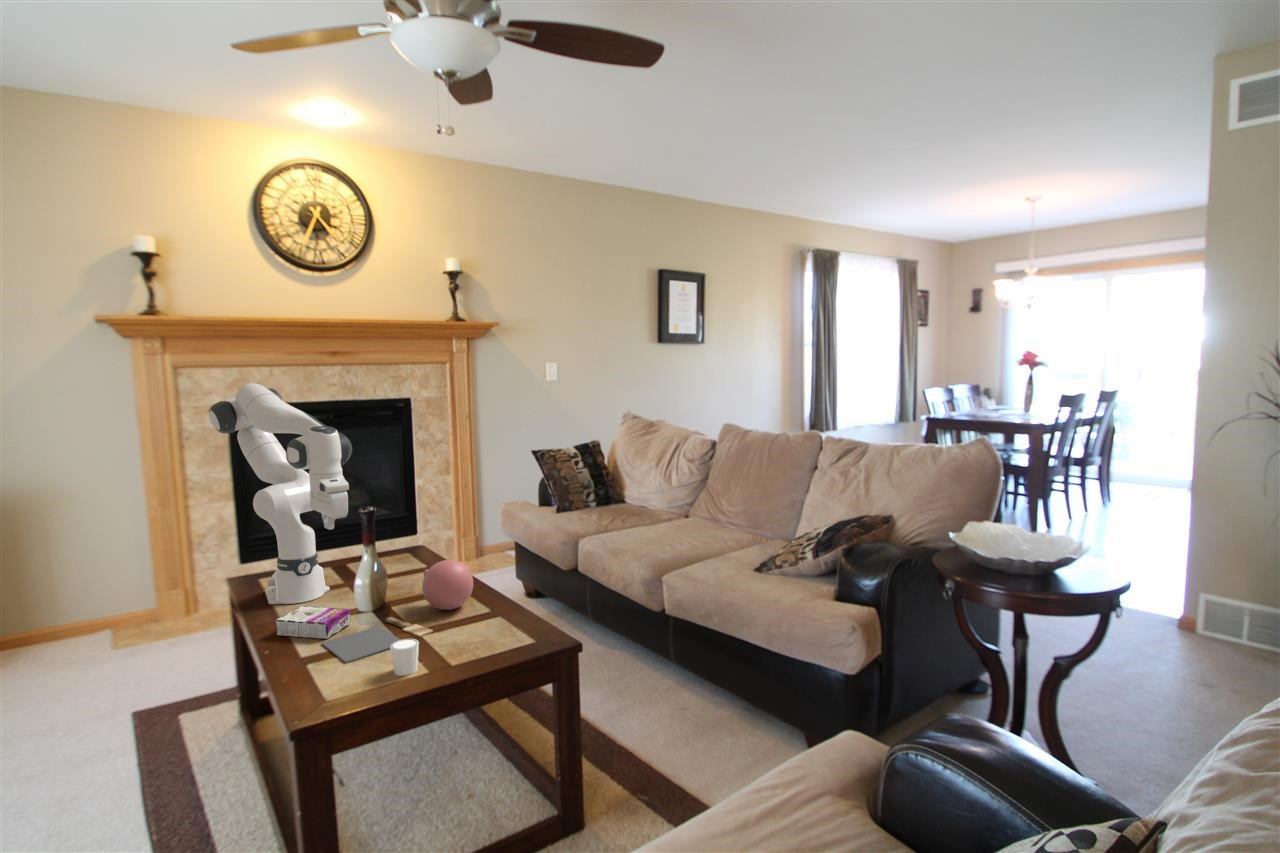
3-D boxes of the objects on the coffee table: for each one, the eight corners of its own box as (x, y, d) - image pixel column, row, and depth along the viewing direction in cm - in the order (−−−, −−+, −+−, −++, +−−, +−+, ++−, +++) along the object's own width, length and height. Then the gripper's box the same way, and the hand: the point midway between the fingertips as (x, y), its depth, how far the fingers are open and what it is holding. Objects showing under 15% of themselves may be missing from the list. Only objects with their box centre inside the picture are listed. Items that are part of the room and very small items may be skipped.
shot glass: (395, 665, 169) (394, 638, 169) (423, 663, 170) (422, 637, 169) (388, 677, 163) (386, 650, 162) (416, 676, 163) (415, 649, 162)
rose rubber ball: (451, 592, 222) (449, 548, 221) (483, 607, 208) (481, 560, 207) (407, 605, 211) (405, 558, 210) (438, 621, 197) (436, 571, 196)
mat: (321, 644, 182) (321, 642, 182) (378, 627, 194) (378, 625, 194) (346, 663, 170) (345, 661, 170) (405, 644, 182) (405, 642, 182)
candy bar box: (351, 625, 196) (303, 620, 199) (350, 608, 195) (302, 604, 199) (326, 640, 185) (275, 636, 188) (325, 623, 185) (274, 619, 188)
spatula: (382, 623, 197) (381, 619, 197) (395, 618, 200) (394, 615, 200) (420, 637, 187) (420, 634, 186) (433, 632, 190) (432, 628, 190)
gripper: (302, 479, 197) (305, 524, 199) (328, 488, 183) (331, 536, 184) (324, 476, 202) (327, 520, 203) (351, 484, 187) (353, 532, 189)
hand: (329, 528), depth 194 cm, fingers closed
